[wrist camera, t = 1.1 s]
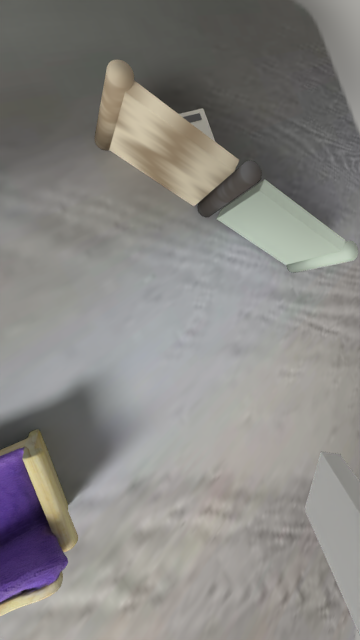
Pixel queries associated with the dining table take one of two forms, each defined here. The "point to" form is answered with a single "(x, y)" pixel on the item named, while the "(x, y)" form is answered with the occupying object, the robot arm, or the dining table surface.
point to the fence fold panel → (285, 230)
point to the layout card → (199, 121)
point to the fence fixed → (167, 145)
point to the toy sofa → (31, 525)
